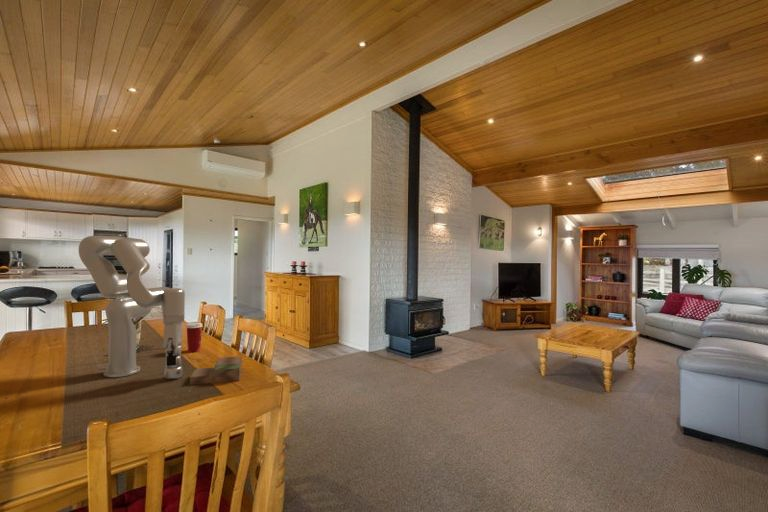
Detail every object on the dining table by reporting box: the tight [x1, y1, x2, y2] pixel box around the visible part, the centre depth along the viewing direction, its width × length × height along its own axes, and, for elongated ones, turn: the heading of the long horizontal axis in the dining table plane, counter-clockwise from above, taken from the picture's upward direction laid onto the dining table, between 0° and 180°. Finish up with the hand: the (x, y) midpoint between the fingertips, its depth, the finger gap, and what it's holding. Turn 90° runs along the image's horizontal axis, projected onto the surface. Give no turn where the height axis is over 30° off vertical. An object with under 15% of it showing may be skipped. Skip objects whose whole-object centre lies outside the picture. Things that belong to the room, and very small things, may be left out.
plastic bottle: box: [163, 338, 183, 380], centre depth 147 cm, size 6×7×20 cm
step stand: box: [189, 356, 243, 386], centre depth 148 cm, size 18×10×7 cm, turn 107°
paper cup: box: [185, 322, 203, 353], centre depth 186 cm, size 8×8×14 cm
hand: (173, 362), depth 147 cm, fingers closed on plastic bottle, 5 cm apart
